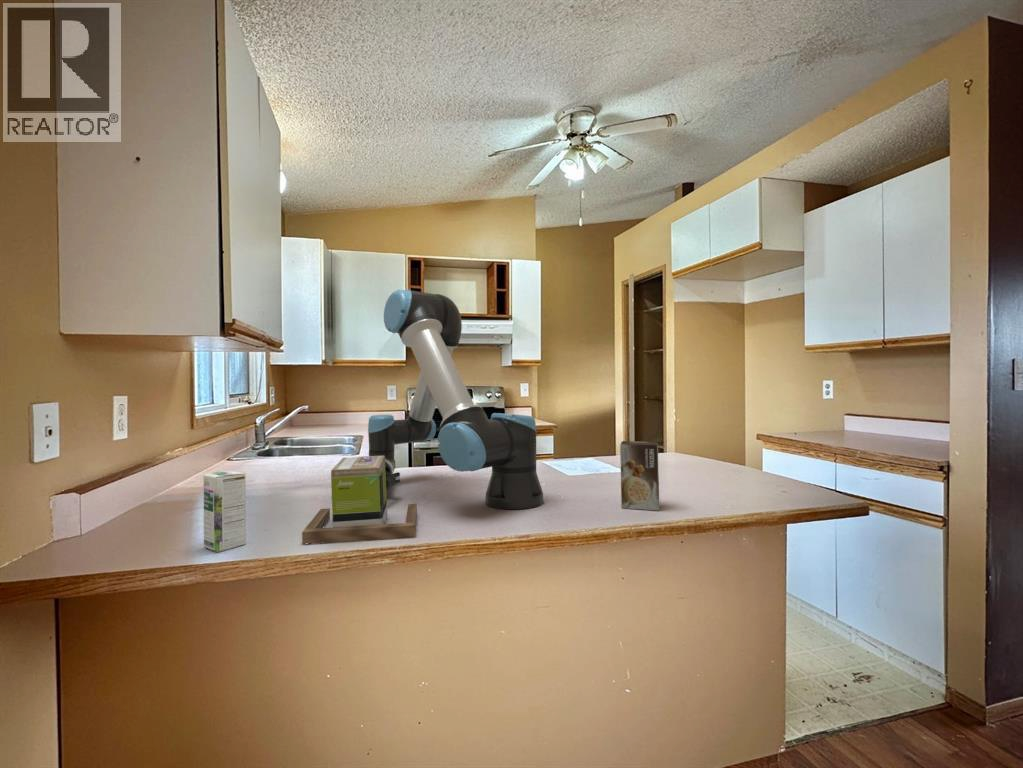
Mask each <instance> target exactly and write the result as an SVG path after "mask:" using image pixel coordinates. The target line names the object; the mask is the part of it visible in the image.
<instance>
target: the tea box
mask: <svg viewBox="0 0 1023 768" xmlns="http://www.w3.org/2000/svg"><path fill="white" fill-rule="evenodd" d="M330 471H331V472H330V481H331V483H330V485H331V509H332V510H331V511H332V512H331V513H332V517H331V518H332V527H349V526H365V525H381V524H386V521H387V517H388V503H387V502H388V500H387V499H388V498H387V490H386V471H385V455H384V456H369V455H366V456H365V455H364V456H350V457H342V458H341V459H340V460H339V462H337V464H336V465H334V467H332V468H331V470H330Z"/></svg>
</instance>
